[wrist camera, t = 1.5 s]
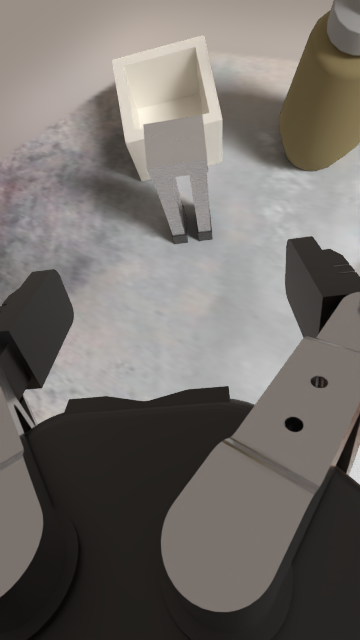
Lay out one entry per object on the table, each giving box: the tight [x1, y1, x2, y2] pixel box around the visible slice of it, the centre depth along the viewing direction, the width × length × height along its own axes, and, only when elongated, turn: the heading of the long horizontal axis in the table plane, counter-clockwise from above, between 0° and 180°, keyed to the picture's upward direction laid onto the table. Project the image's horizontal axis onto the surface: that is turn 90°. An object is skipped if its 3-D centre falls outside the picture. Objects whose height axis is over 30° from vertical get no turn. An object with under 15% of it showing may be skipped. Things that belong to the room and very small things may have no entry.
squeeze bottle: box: [279, 0, 360, 171], centre depth 27 cm, size 8×8×18 cm
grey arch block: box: [143, 115, 212, 244], centre depth 29 cm, size 4×3×14 cm
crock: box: [112, 35, 222, 181], centre depth 35 cm, size 9×9×6 cm
